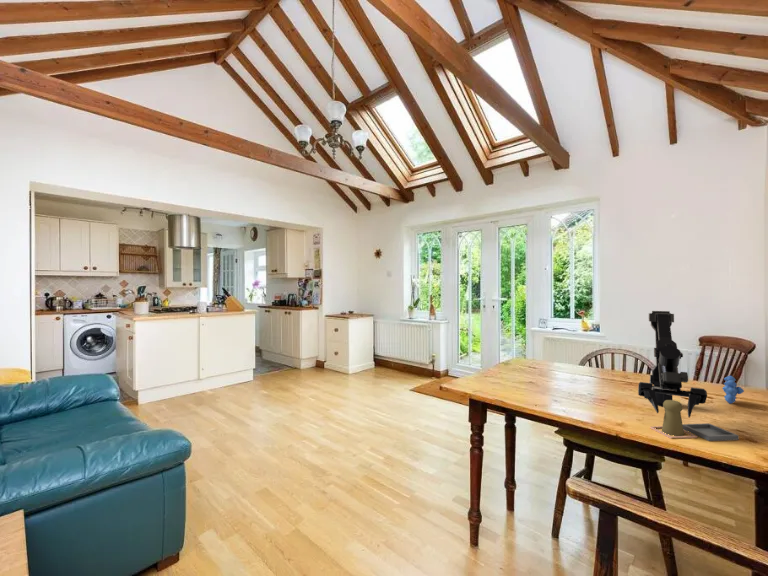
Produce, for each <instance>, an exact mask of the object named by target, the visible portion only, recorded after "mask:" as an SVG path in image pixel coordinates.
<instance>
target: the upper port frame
mask: <svg viewBox="0 0 768 576" xmlns="http://www.w3.org/2000/svg"><path fill="white" fill-rule="evenodd" d="M662 426H663V425H658V426H654V425H653V426H649V428H650V429H651V430H654V431H655V432H657V433H659V434H661V435H662V436H664V437H667V438H668V439H671V438H680V439H697V438H698V436H697V435H694V434H692V433H690V432H688V431H686V430H684V429H683V430H684V432H685V433H684V434H686V433H687V434H686V435H684V436H672V435H668V434H665V433H663V432H662V430H660V429H662ZM655 428H657V429H655ZM688 434H689V435H688ZM690 435H691V436H690Z"/></svg>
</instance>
